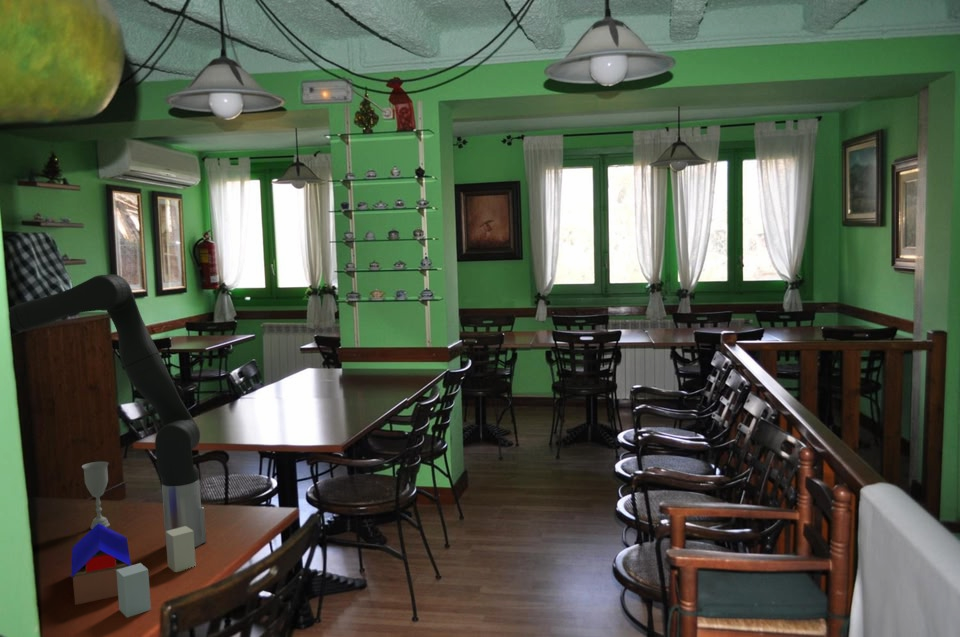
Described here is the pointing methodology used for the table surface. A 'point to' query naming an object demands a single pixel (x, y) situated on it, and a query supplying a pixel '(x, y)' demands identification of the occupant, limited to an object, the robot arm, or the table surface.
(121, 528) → the table surface
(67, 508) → the table surface
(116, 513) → the table surface
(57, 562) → the table surface
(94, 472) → the chalice
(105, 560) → the house
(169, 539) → the cream block
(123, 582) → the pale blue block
